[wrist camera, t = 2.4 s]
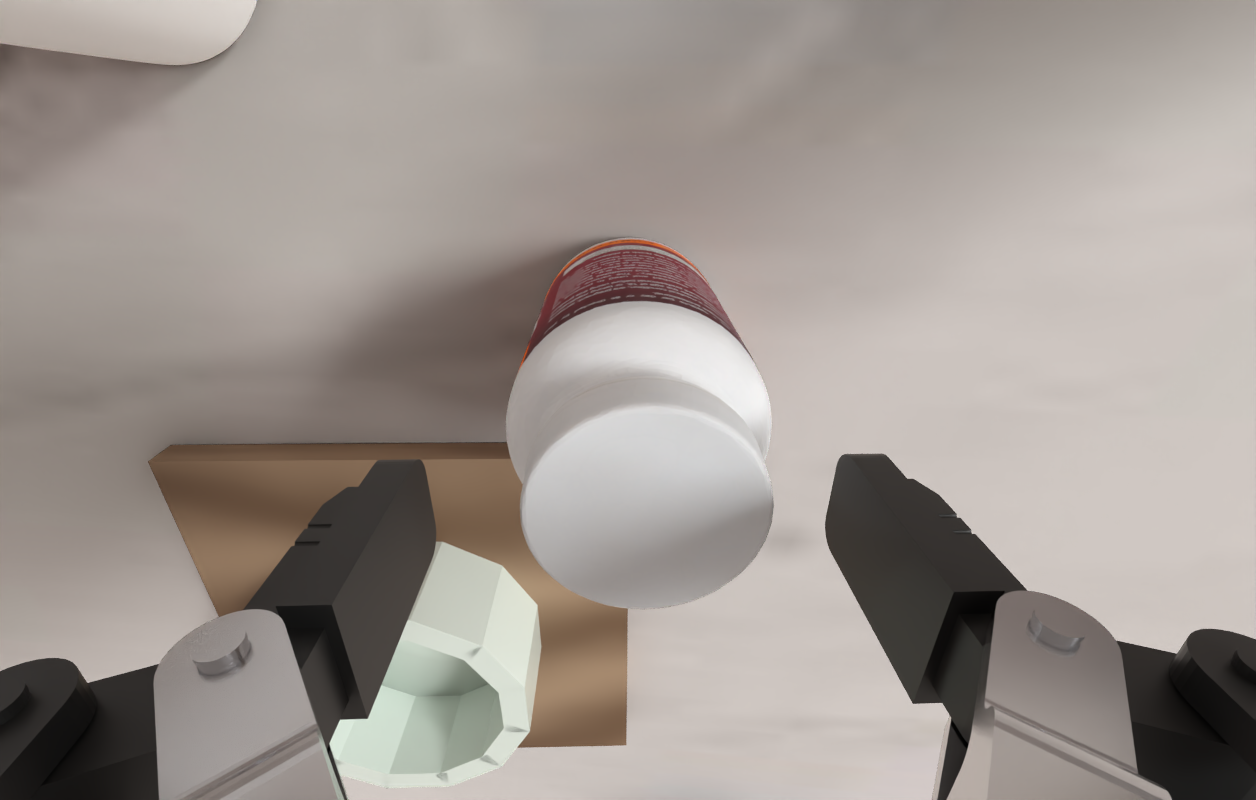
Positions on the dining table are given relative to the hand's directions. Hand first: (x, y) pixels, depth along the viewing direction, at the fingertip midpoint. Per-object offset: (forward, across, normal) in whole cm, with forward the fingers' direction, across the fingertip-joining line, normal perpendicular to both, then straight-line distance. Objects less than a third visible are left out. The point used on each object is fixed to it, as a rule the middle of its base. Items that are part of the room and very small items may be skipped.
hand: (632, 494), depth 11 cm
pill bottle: (+10, 0, 0) cm, 10 cm away
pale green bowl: (+9, +9, +14) cm, 19 cm away
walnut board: (+10, +9, +14) cm, 19 cm away
